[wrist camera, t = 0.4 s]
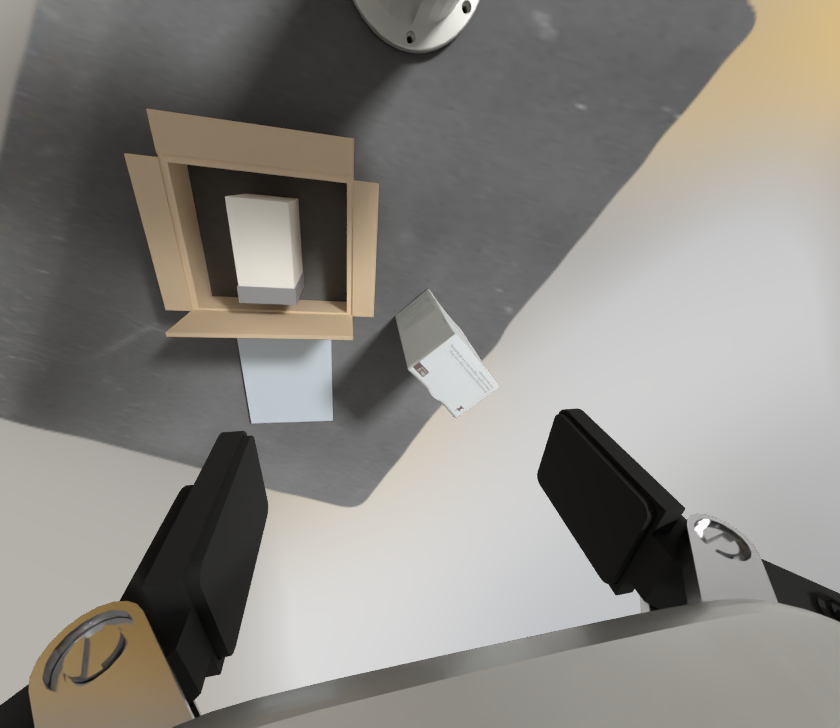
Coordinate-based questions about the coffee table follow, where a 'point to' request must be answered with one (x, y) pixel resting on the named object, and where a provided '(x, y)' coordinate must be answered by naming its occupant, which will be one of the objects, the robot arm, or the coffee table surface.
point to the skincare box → (442, 355)
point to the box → (266, 248)
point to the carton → (181, 241)
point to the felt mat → (287, 379)
